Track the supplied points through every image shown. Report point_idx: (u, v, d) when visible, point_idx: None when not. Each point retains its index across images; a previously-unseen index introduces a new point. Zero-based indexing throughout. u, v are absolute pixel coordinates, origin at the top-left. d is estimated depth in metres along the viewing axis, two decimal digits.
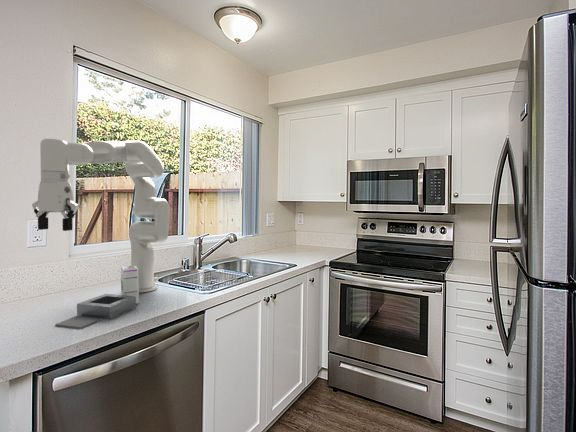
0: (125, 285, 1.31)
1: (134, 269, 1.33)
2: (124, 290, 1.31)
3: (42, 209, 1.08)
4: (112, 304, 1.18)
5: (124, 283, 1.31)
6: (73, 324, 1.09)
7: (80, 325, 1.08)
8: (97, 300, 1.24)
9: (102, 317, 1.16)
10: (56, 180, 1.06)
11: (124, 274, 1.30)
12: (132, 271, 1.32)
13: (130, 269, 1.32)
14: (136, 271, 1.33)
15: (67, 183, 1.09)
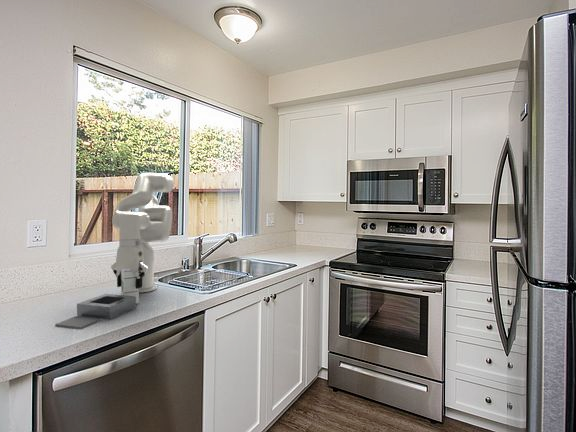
0: (125, 285, 1.31)
1: None
2: (124, 290, 1.31)
3: (120, 269, 1.33)
4: (112, 304, 1.18)
5: (124, 283, 1.31)
6: (73, 324, 1.09)
7: (80, 325, 1.08)
8: (97, 300, 1.24)
9: (102, 317, 1.16)
10: (132, 247, 1.31)
11: (124, 274, 1.30)
12: None
13: None
14: None
15: (140, 248, 1.33)
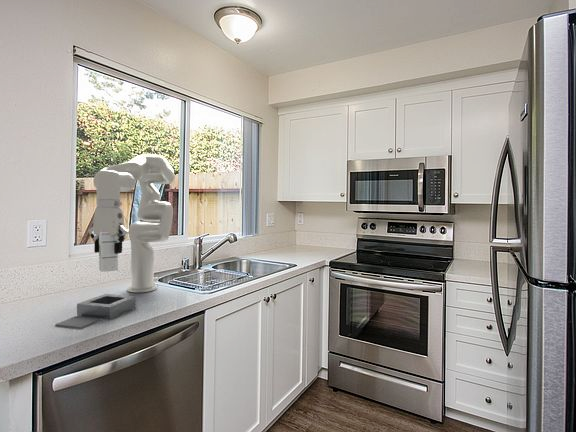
0: (103, 249, 1.19)
1: None
2: (102, 255, 1.19)
3: (97, 233, 1.21)
4: (112, 304, 1.18)
5: (102, 247, 1.19)
6: (73, 324, 1.09)
7: (80, 325, 1.08)
8: (97, 300, 1.24)
9: (102, 317, 1.16)
10: (111, 207, 1.19)
11: (101, 237, 1.18)
12: None
13: None
14: None
15: (119, 209, 1.21)
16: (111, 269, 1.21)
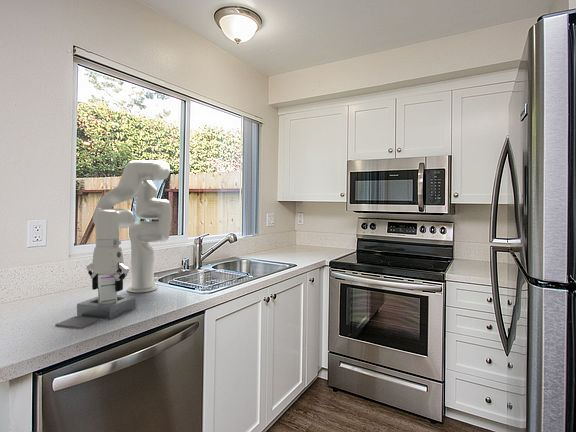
0: (102, 293, 1.19)
1: (112, 275, 1.21)
2: (101, 298, 1.19)
3: (96, 272, 1.21)
4: (112, 304, 1.18)
5: (101, 291, 1.19)
6: (73, 324, 1.09)
7: (80, 325, 1.08)
8: (97, 300, 1.24)
9: (102, 317, 1.16)
10: (110, 247, 1.19)
11: (100, 281, 1.19)
12: (110, 278, 1.21)
13: (107, 275, 1.20)
14: (114, 277, 1.21)
15: (119, 248, 1.21)
16: None
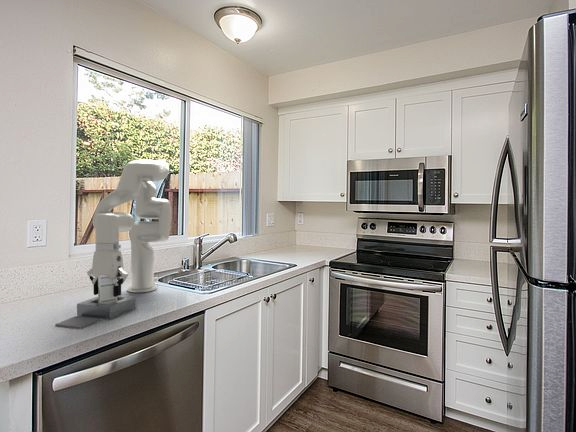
0: (102, 293, 1.19)
1: None
2: (101, 298, 1.19)
3: (96, 276, 1.21)
4: (112, 304, 1.18)
5: (101, 291, 1.19)
6: (73, 324, 1.09)
7: (80, 325, 1.08)
8: (97, 300, 1.24)
9: (102, 317, 1.16)
10: (110, 251, 1.19)
11: (100, 281, 1.19)
12: None
13: None
14: None
15: (118, 252, 1.21)
16: None
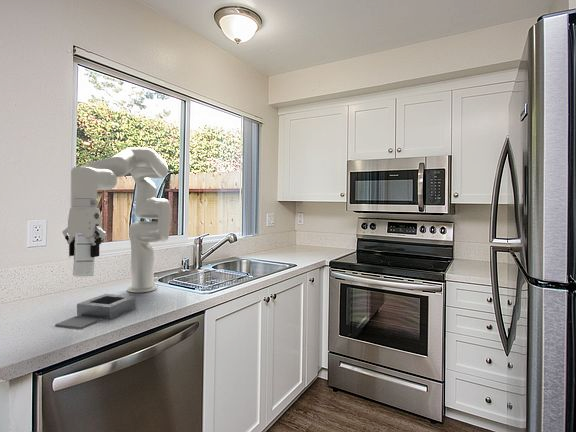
0: (78, 252, 1.09)
1: None
2: (76, 258, 1.09)
3: (72, 235, 1.11)
4: (112, 304, 1.18)
5: (77, 249, 1.09)
6: (73, 324, 1.09)
7: (80, 325, 1.08)
8: (97, 300, 1.24)
9: (102, 317, 1.16)
10: (86, 207, 1.10)
11: (77, 238, 1.09)
12: None
13: None
14: None
15: (96, 209, 1.12)
16: (86, 274, 1.11)
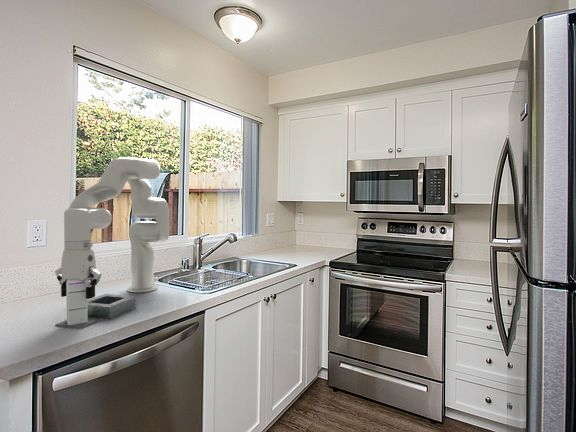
0: (70, 301, 1.07)
1: (82, 281, 1.09)
2: (68, 307, 1.07)
3: (65, 277, 1.09)
4: (112, 304, 1.18)
5: (68, 298, 1.07)
6: None
7: (80, 325, 1.08)
8: (97, 300, 1.24)
9: (102, 317, 1.16)
10: (80, 250, 1.08)
11: (68, 287, 1.07)
12: (79, 283, 1.09)
13: (76, 281, 1.08)
14: (84, 283, 1.10)
15: (90, 251, 1.10)
16: (79, 322, 1.09)
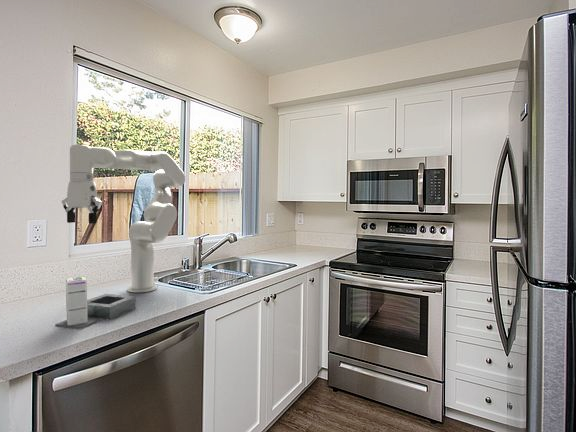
0: (69, 301, 1.07)
1: (81, 281, 1.09)
2: (68, 307, 1.07)
3: (71, 205, 1.26)
4: (112, 304, 1.18)
5: (68, 299, 1.07)
6: None
7: (80, 325, 1.08)
8: (97, 300, 1.24)
9: (102, 317, 1.16)
10: (83, 180, 1.24)
11: (67, 287, 1.07)
12: (79, 284, 1.09)
13: (76, 281, 1.08)
14: (84, 284, 1.09)
15: (92, 182, 1.26)
16: (79, 322, 1.09)
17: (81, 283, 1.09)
